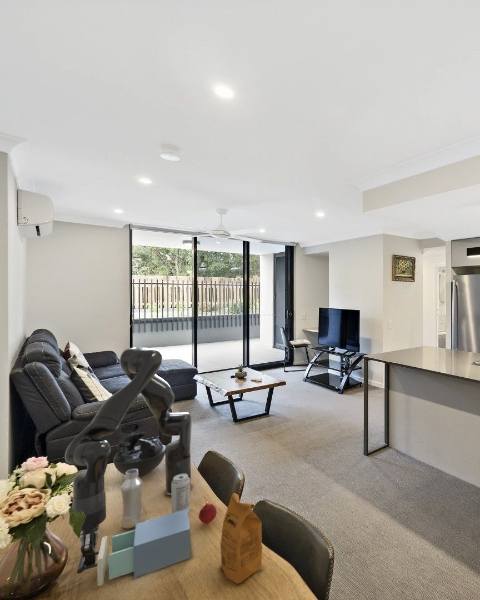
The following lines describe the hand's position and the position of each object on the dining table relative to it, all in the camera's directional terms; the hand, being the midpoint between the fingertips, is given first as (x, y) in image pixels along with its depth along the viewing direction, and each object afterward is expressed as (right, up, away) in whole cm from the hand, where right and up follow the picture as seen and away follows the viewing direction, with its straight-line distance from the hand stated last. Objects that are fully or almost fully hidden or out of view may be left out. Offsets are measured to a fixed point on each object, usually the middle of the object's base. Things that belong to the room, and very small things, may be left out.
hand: (90, 564), depth 107 cm
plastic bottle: (-6, -4, +25) cm, 26 cm away
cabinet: (+15, -4, +10) cm, 19 cm away
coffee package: (+43, -5, +5) cm, 43 cm away
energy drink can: (+8, -4, +31) cm, 32 cm away
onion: (+21, -4, +26) cm, 34 cm away
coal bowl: (-30, -3, +62) cm, 69 cm away
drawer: (+5, -4, +4) cm, 8 cm away
